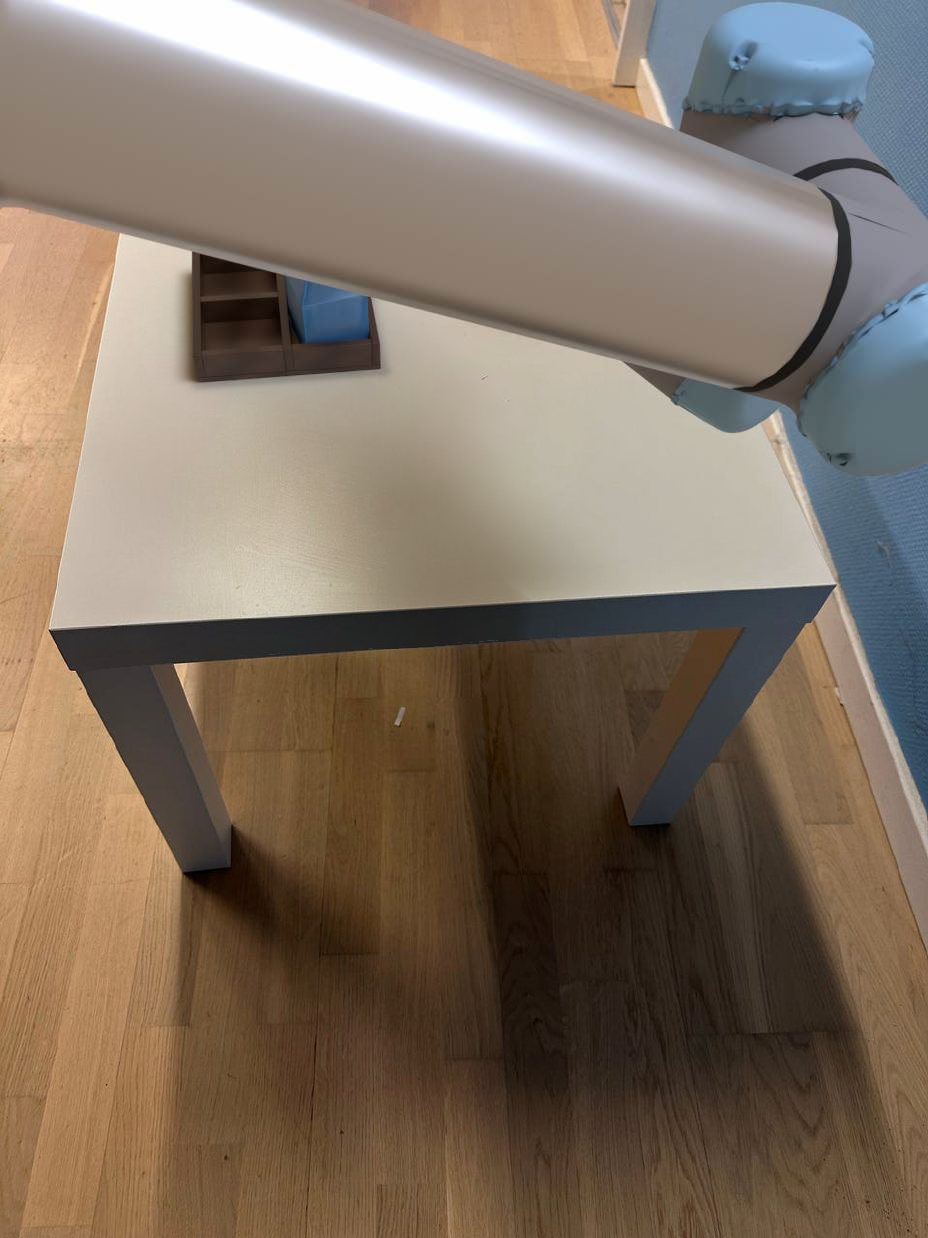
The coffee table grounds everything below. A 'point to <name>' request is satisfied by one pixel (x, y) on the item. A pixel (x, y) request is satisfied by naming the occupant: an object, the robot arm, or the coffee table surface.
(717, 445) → the coffee table surface
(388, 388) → the coffee table surface
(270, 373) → the wooden compartment tray
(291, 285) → the perfume bottle
